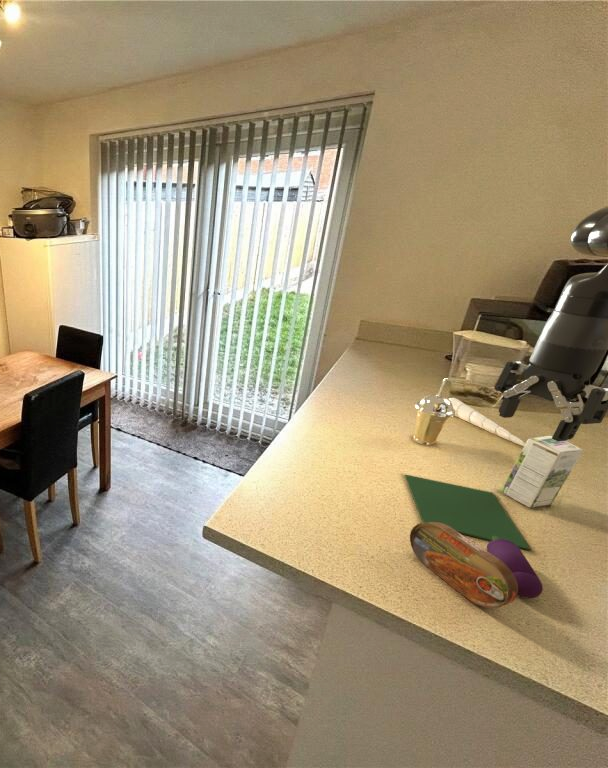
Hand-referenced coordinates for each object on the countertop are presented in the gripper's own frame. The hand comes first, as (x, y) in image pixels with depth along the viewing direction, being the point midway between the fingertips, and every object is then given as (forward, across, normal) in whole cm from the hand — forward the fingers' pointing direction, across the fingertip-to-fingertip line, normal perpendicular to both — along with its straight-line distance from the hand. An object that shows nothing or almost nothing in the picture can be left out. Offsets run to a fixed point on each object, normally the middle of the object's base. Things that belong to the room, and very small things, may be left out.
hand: (530, 427), depth 70 cm
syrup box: (+23, +6, -18) cm, 30 cm away
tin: (+23, -11, +18) cm, 31 cm away
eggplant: (+23, -11, +7) cm, 26 cm away
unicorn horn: (+23, +36, -40) cm, 58 cm away
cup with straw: (+23, +31, -16) cm, 42 cm away
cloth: (+23, +5, 0) cm, 23 cm away
